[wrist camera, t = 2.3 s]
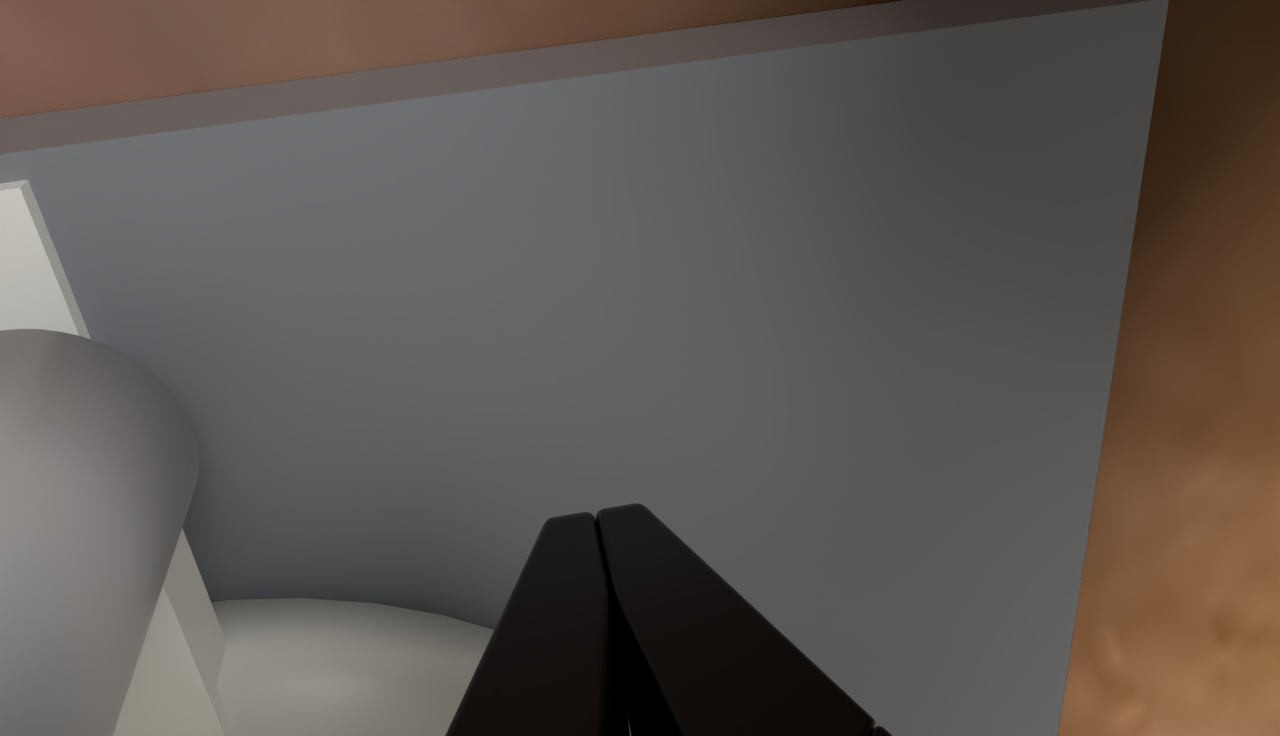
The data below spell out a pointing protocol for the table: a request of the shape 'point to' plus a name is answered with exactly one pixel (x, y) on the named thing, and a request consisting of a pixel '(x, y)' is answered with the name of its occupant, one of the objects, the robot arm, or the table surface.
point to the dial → (171, 584)
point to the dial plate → (643, 319)
